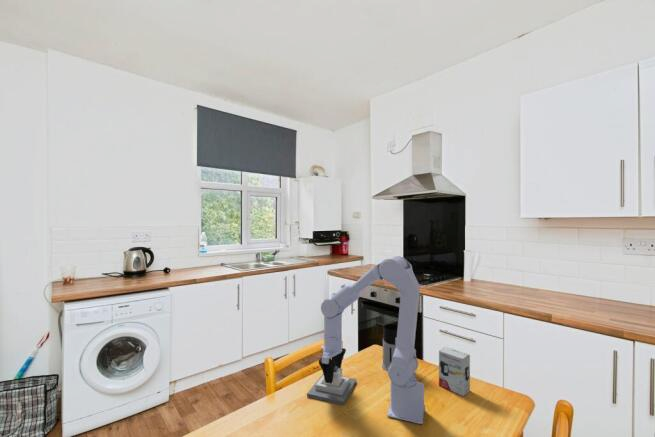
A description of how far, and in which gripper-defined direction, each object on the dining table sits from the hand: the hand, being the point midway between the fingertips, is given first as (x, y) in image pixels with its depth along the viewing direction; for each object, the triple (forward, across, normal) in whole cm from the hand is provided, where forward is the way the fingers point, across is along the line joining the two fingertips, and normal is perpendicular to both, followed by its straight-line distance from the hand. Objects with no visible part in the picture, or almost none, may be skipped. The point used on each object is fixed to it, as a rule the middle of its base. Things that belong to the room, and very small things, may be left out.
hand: (332, 376), depth 98 cm
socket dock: (+4, 0, 0) cm, 4 cm away
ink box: (+4, -15, +37) cm, 40 cm away
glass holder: (+4, -20, +17) cm, 27 cm away
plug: (+3, 0, 0) cm, 3 cm away
